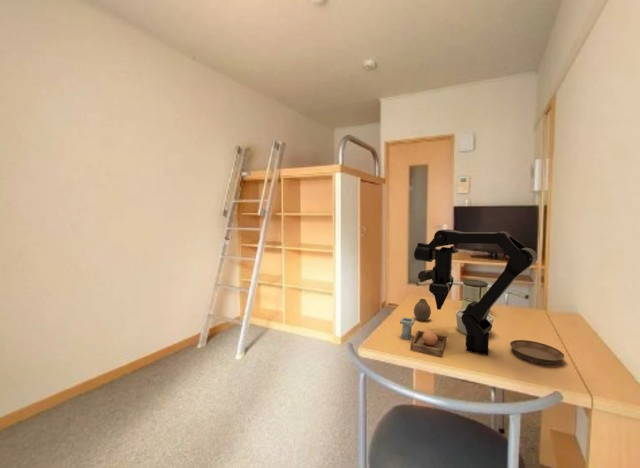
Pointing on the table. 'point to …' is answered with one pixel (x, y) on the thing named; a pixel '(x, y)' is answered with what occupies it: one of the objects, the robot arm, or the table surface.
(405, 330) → the stand
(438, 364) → the table surface
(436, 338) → the ball
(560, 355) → the saucer
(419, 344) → the tray
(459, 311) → the ramekin
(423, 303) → the vase
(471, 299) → the coffee can
